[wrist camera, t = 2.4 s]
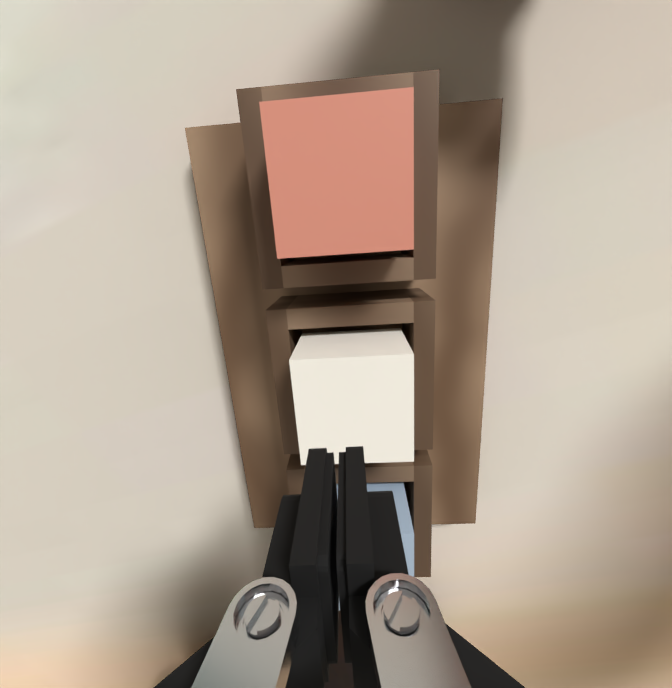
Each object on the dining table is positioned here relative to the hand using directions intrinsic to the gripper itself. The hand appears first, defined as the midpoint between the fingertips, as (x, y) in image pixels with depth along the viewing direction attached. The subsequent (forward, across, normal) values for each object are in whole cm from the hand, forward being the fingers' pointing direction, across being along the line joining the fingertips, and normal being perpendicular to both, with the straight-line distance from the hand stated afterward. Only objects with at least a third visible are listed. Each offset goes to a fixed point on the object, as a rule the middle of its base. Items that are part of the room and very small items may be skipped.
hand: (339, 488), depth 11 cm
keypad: (+13, -1, 0) cm, 13 cm away
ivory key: (+8, -1, 0) cm, 8 cm away
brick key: (+8, -1, -9) cm, 12 cm away
